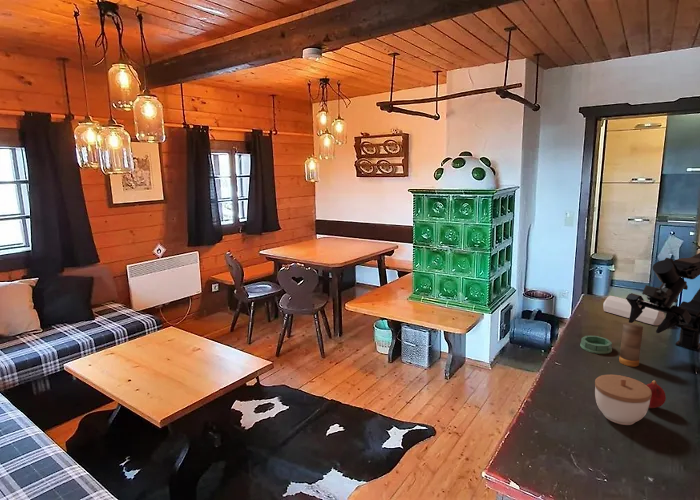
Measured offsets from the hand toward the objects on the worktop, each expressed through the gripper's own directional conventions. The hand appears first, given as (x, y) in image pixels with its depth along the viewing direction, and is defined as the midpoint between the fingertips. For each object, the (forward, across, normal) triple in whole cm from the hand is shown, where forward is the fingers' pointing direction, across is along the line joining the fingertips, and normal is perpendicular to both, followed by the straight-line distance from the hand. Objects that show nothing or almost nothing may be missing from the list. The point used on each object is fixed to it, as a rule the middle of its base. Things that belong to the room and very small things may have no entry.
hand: (642, 327), depth 146 cm
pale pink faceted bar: (-17, -28, +33) cm, 47 cm away
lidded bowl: (+34, +20, -17) cm, 43 cm away
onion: (+26, +21, -9) cm, 34 cm away
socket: (+11, -13, +5) cm, 18 cm away
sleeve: (+12, 0, +5) cm, 13 cm away
